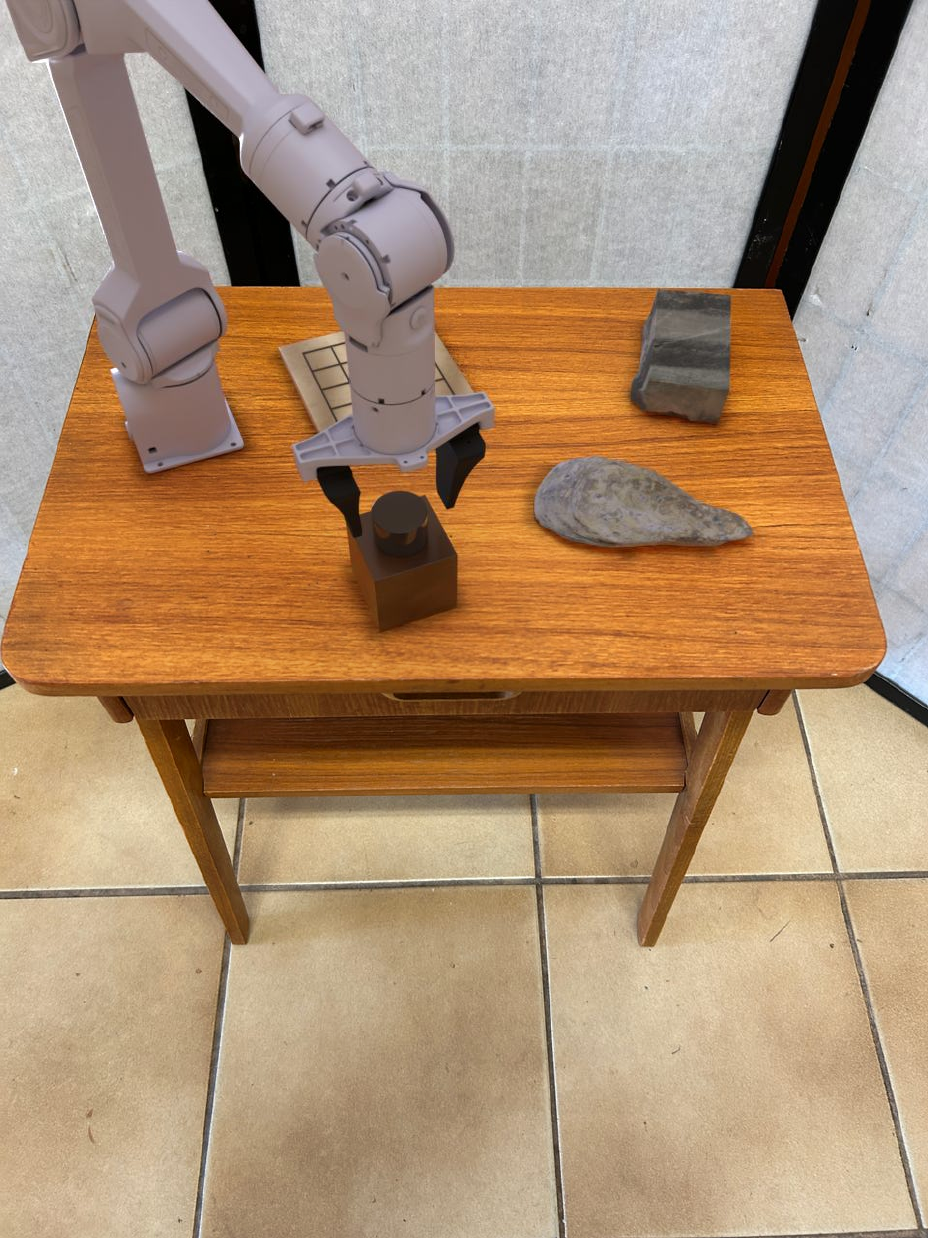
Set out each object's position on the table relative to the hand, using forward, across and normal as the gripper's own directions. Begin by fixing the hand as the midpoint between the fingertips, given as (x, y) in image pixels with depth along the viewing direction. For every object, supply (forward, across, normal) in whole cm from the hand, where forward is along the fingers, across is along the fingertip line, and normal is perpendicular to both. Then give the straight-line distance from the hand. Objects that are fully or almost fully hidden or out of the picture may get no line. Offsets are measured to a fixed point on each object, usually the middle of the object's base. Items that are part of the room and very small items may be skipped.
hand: (400, 513), depth 74 cm
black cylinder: (+3, 0, 0) cm, 3 cm away
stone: (+10, +23, -1) cm, 25 cm away
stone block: (+10, +36, +15) cm, 40 cm away
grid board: (+10, +7, +26) cm, 28 cm away
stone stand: (+10, 0, 0) cm, 10 cm away
